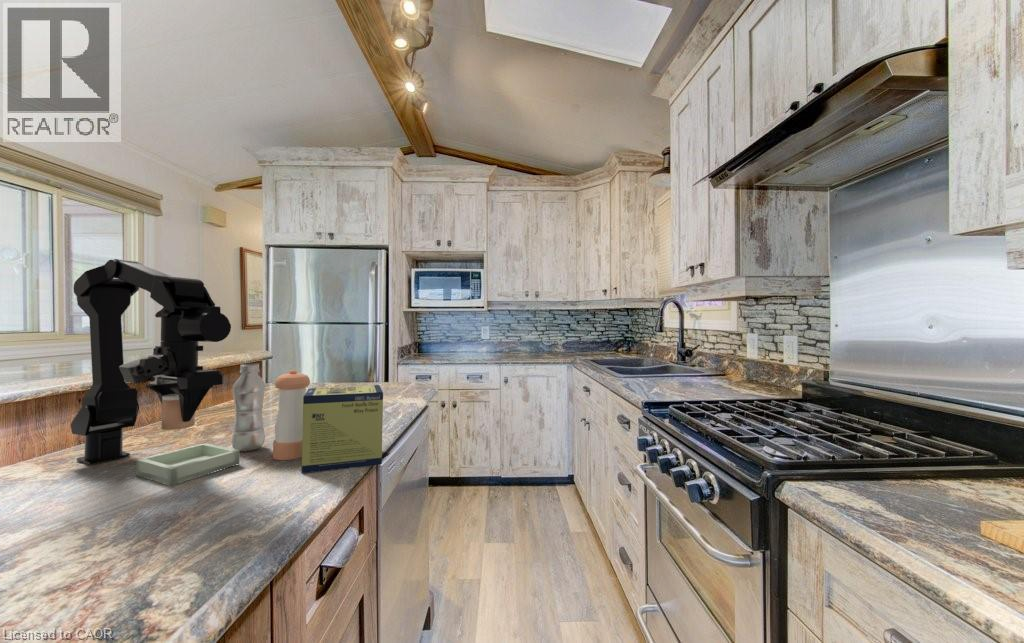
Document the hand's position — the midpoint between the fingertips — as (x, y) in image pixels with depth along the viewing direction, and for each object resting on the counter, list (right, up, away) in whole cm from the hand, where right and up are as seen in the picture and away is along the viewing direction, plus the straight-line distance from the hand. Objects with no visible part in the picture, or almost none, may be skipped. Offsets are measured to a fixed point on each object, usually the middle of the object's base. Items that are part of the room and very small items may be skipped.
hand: (178, 420), depth 78 cm
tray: (+1, -11, +2) cm, 11 cm away
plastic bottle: (+4, -11, +14) cm, 19 cm away
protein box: (+29, -11, +8) cm, 32 cm away
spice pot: (0, -1, 0) cm, 1 cm away
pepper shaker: (+16, -11, +11) cm, 22 cm away
